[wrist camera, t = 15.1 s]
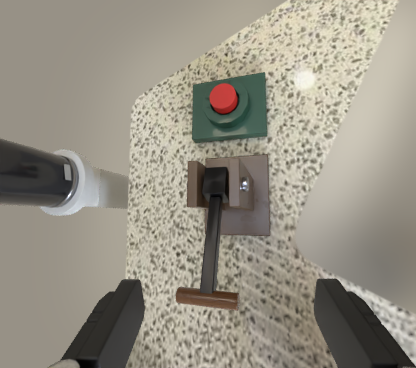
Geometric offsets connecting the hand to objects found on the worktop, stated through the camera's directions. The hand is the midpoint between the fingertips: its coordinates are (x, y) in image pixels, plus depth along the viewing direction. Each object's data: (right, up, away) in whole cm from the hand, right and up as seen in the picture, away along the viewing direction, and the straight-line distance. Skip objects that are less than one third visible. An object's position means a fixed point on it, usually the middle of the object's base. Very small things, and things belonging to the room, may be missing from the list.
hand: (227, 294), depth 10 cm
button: (+2, +17, +22) cm, 27 cm away
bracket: (+3, +3, +22) cm, 23 cm away
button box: (+3, +16, +25) cm, 30 cm away
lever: (0, 0, +11) cm, 11 cm away
